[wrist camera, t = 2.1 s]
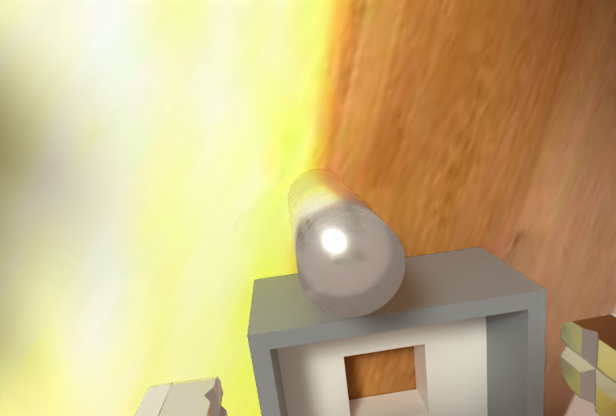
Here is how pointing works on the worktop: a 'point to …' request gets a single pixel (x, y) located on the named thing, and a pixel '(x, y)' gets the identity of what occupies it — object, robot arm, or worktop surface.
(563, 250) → the worktop surface
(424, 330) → the box
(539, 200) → the worktop surface
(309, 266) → the peg
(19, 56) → the worktop surface
